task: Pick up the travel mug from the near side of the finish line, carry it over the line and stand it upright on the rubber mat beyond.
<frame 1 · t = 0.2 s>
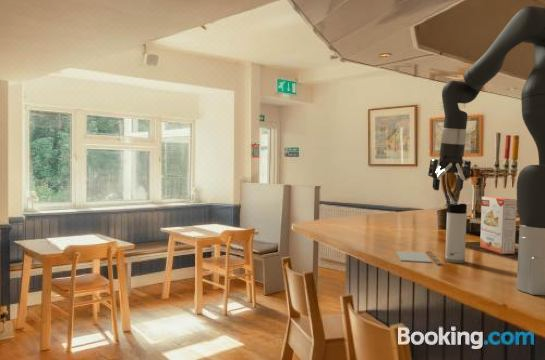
hand: (447, 190, 154), 24 cm above the bar counter, tool pointing down, fingers open, 8 cm apart
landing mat: (413, 257, 161), on the bar counter
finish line: (433, 258, 160), on the bar counter
travel mug: (455, 261, 156), on the bar counter
cracker box: (496, 251, 178), on the bar counter
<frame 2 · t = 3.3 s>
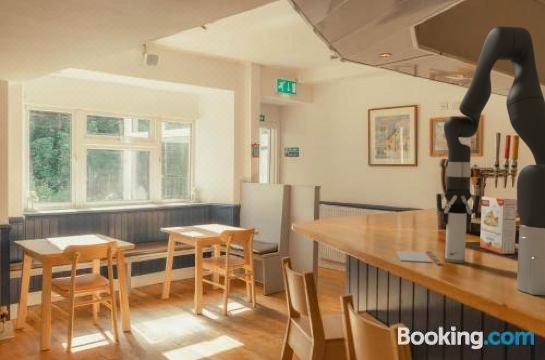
hand: (456, 224, 156), 13 cm above the bar counter, tool pointing down, fingers closed on travel mug, 6 cm apart
travel mug: (455, 261, 156), on the bar counter, touching gripper
everything else where it was.
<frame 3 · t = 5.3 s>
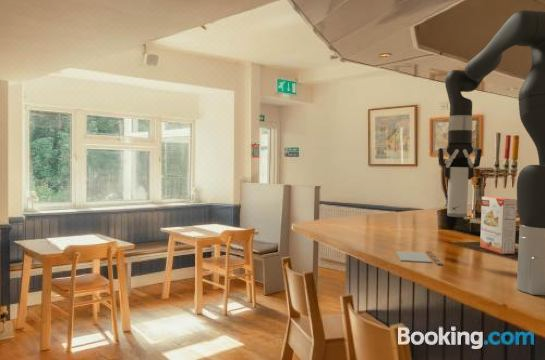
hand: (458, 179, 155), 28 cm above the bar counter, tool pointing down, fingers closed on travel mug, 6 cm apart
travel mug: (457, 216, 155), point 15 cm above the bar counter, touching gripper
everything else where it was.
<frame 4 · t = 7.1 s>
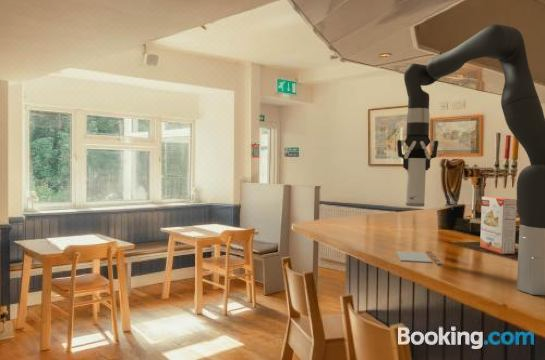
hand: (416, 169, 160), 31 cm above the bar counter, tool pointing down, fingers closed on travel mug, 6 cm apart
travel mug: (415, 206, 160), point 18 cm above the bar counter, touching gripper
everything else where it was.
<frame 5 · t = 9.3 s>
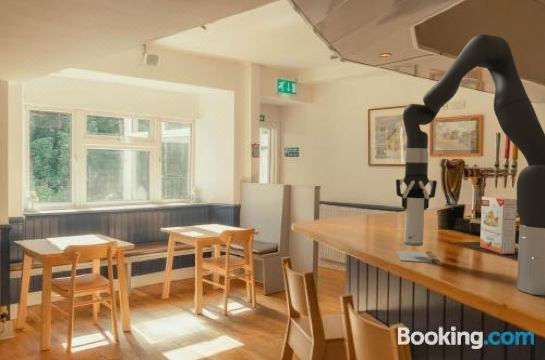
hand: (414, 209, 160), 17 cm above the bar counter, tool pointing down, fingers closed on travel mug, 6 cm apart
travel mug: (413, 245, 161), point 4 cm above the bar counter, touching gripper
everything else where it was.
when the fingers open (14 cm above the bar counter, at t = 11.1 s): travel mug stays where it is, resting on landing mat.
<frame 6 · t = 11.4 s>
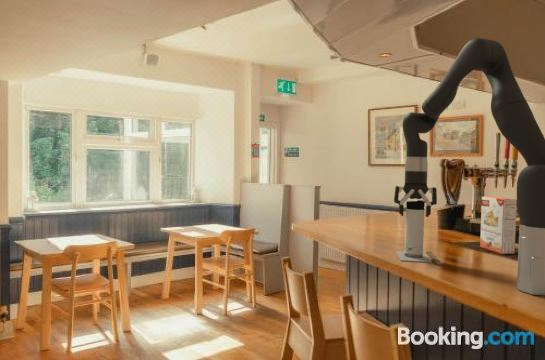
hand: (414, 216, 161), 15 cm above the bar counter, tool pointing down, fingers open, 8 cm apart
travel mug: (413, 256, 161), resting on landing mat
everything else where it was.
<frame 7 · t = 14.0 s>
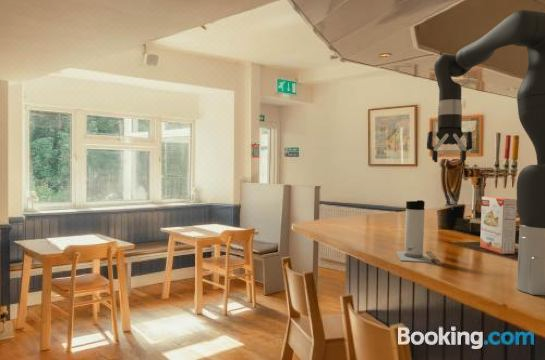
hand: (448, 162, 155), 34 cm above the bar counter, tool pointing down, fingers open, 8 cm apart
nothing on the bar counter moved.
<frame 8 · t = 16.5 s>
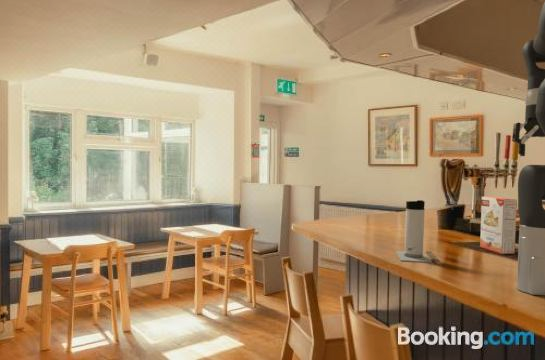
hand: (537, 156, 142), 36 cm above the bar counter, tool pointing down, fingers open, 8 cm apart
nothing on the bar counter moved.
at the end: travel mug inside the target area (1.0 cm from its centre), resting on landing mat; travel mug tilted 0°; the gripper is holding nothing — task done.
